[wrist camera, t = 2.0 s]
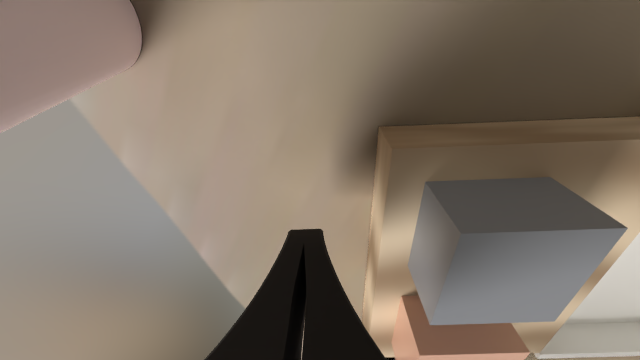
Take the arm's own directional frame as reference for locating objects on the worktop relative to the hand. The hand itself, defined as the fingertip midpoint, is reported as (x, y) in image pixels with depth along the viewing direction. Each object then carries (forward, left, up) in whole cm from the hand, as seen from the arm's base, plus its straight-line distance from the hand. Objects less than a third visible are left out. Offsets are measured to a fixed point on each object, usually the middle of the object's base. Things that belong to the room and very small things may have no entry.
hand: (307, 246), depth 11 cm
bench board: (-4, -9, -3) cm, 11 cm away
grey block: (0, -7, -1) cm, 7 cm away
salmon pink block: (-7, -7, -1) cm, 11 cm away
